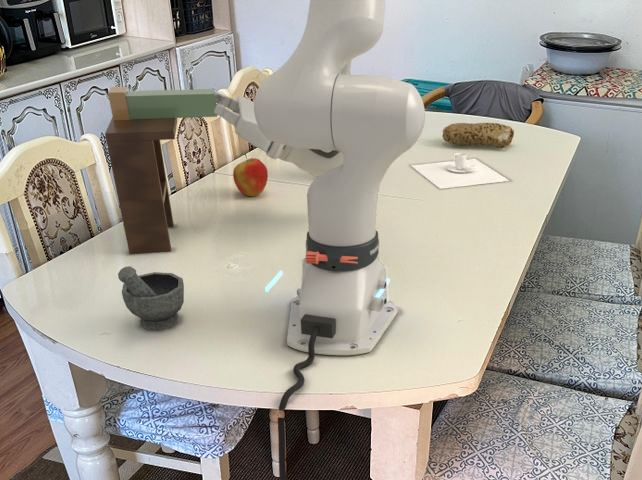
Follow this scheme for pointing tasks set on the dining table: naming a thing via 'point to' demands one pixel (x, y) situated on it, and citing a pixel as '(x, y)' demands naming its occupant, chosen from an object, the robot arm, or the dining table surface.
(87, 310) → the dining table surface
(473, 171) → the teacup and saucer
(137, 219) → the rack
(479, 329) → the dining table surface
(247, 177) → the apple
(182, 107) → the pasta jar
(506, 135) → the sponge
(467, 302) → the dining table surface
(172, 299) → the mortar and pestle
